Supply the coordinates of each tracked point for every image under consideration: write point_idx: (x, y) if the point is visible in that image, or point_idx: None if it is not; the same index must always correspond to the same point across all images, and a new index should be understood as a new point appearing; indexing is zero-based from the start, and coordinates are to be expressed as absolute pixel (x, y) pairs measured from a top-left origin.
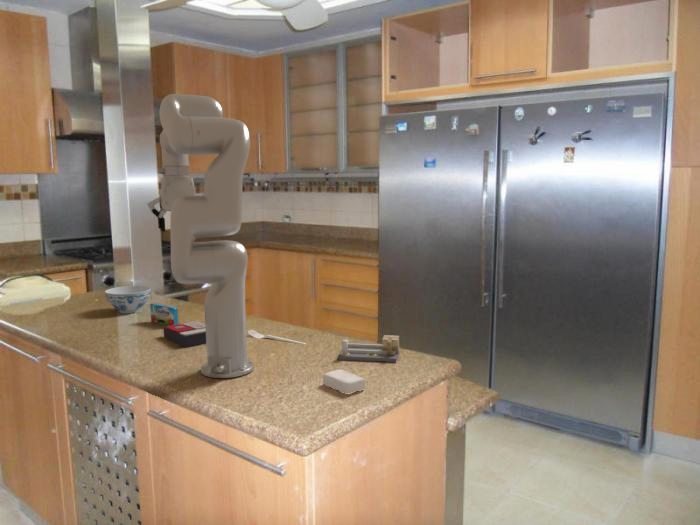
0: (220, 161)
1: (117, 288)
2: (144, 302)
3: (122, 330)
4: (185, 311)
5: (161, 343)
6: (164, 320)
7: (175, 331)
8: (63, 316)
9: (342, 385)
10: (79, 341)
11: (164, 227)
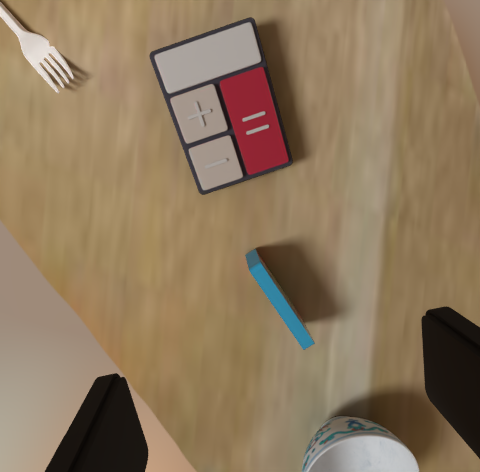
0: None
1: None
2: (313, 437)
3: (372, 262)
4: (215, 393)
5: (299, 99)
6: (277, 282)
7: (269, 90)
8: None
9: None
10: (468, 197)
11: (454, 324)
